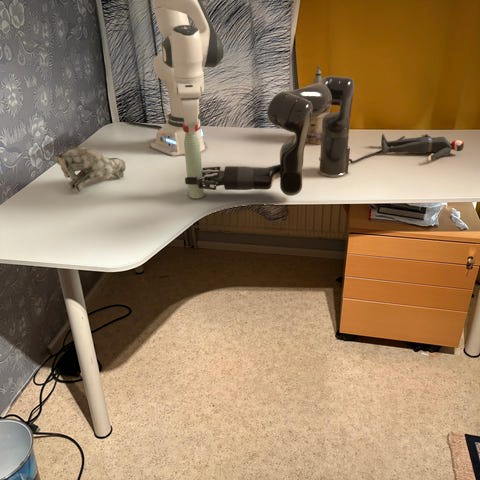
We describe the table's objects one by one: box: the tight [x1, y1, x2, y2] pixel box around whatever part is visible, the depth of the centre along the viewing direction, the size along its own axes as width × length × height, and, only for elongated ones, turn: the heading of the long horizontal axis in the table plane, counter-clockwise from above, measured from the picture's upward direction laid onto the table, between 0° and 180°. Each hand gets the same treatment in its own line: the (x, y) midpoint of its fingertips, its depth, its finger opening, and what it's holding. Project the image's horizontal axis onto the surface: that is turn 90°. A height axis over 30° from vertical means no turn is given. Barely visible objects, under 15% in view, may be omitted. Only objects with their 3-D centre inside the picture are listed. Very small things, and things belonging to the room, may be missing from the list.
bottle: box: [184, 132, 205, 199], centre depth 169 cm, size 5×5×23 cm
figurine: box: [54, 146, 127, 193], centre depth 180 cm, size 10×19×20 cm
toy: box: [380, 133, 465, 162], centre depth 205 cm, size 26×6×30 cm
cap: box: [183, 123, 198, 133], centre depth 164 cm, size 5×5×2 cm
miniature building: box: [306, 65, 333, 145], centre depth 213 cm, size 13×14×30 cm
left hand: (191, 131), depth 164 cm, fingers closed on cap, 4 cm apart
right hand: (186, 177), depth 172 cm, fingers closed on bottle, 5 cm apart
